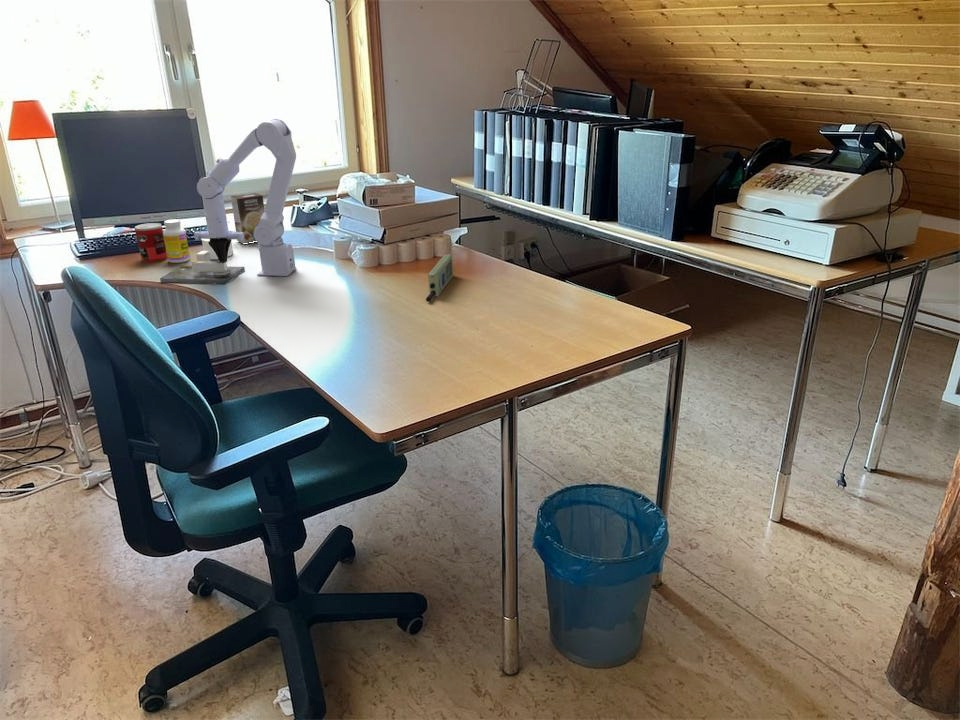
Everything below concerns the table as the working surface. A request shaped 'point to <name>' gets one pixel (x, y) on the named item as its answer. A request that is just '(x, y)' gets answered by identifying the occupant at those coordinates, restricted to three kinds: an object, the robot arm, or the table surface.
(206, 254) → the cap
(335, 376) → the table surface
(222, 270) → the selector lever
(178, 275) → the console plate
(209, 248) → the base with upright slab
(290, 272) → the robot arm
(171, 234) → the supplement bottle
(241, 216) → the coffee box
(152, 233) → the canned food
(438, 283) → the handheld radio
